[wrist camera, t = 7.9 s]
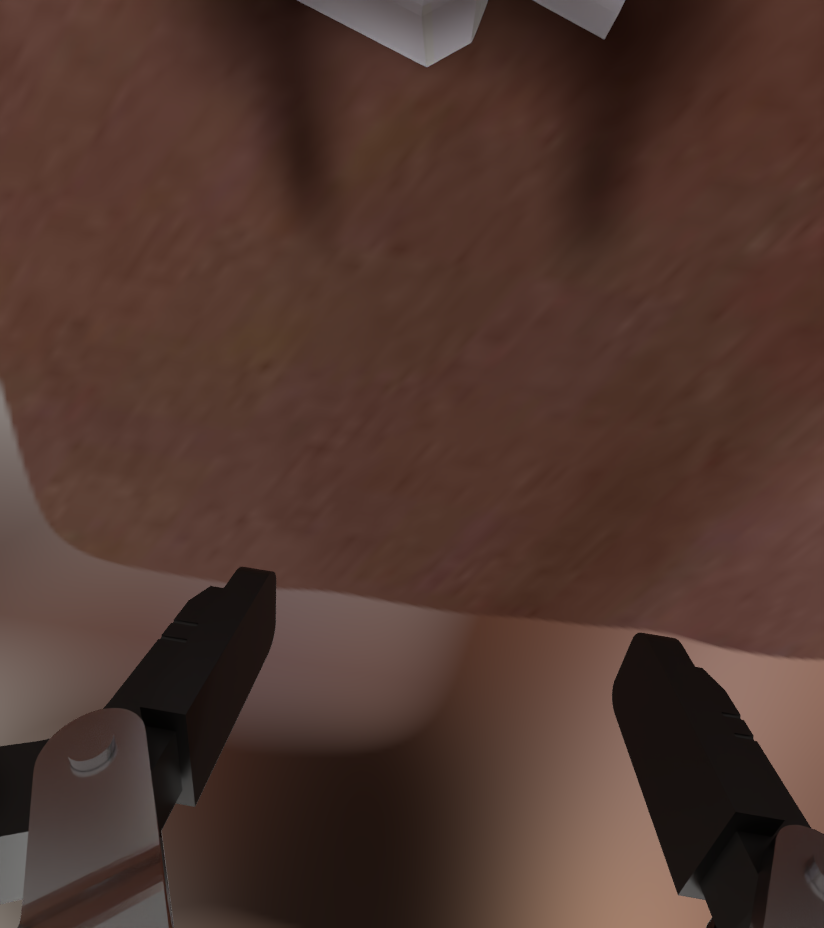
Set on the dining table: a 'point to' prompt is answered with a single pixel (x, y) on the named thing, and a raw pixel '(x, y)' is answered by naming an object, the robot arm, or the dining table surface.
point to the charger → (446, 21)
